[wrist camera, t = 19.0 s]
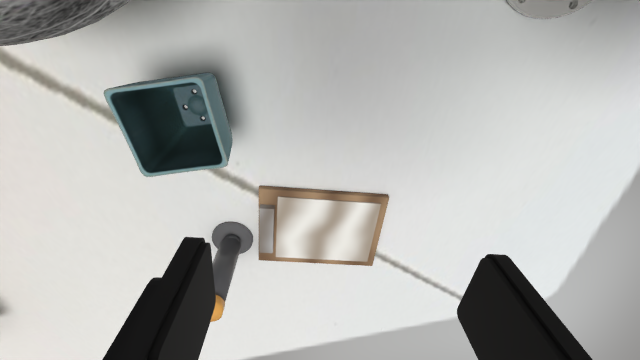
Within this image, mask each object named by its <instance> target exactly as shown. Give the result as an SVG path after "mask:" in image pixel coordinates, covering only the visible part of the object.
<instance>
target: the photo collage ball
mask: <svg viewBox="0 0 640 360" xmlns="http://www.w3.org/2000/svg"><path fill="white" fill-rule="evenodd" d="M128 1H129V0H0V46H6V45H17V44H23V43H29V42H33V41H38V40H43V39H48V38H53V37H57V36H61V35H65V34H67V33H70V32H72V31H75V30H77V29H80V28H82V27H85V26H87V25H90V24H92V23H95V22H97V21H99V20H101V19H102V18H104V17H105V16H107V15H109V14H110V13H112V12H114V11H115V10H117V9H118V8H120V7H122V6H123V5H125V4H126V3H127V2H128Z"/></svg>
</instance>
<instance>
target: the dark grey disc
mask: <svg viewBox="0 0 640 360" xmlns="http://www.w3.org/2000/svg"><path fill="white" fill-rule="evenodd" d="M230 234H234V235H236V236H238V237H239V239H240V244H241V249H240V252H239V254H241V253H244V252H246V251H247V250H249V249H250V247H251V245H252V242H253V236H252V233H251V232H250V230H249V229H248V228H247V227H245V226H244V225H242V224H240V223H236V222H225V223H222V224H220V225H218V226H217V227H216V228H215V229H214V231H213V234H212V241H213V243H214V245H215V246H216V247H217V248H219V245H220V243H221V241H222V240H223V239H225V237H226V236H227V235H230Z"/></svg>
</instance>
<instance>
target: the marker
mask: <svg viewBox="0 0 640 360" xmlns="http://www.w3.org/2000/svg"><path fill="white" fill-rule="evenodd" d="M240 249H241V244H240V239H239V237H238V236H236V235H234V234H230V235H227V236H226V237H225V239H223V240H222V241H221V243H220V245H219V248H218V251H217V253H216V256H215V258H214V261H213V263H212V265H213V275H214V285H215V295H216V303H215V308H214V311H213V315H212V318H211V321H210V322H212V321H216V320H219V319H220V318H221V316H222V313H223V310H224V307H225V300H226V297H227V293H228V290H229V286H230V283H231V280H232V276H233V273H234V269H235V266H236V262H237V259H238V256H239V252H240Z"/></svg>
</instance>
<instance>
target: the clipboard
mask: <svg viewBox="0 0 640 360" xmlns="http://www.w3.org/2000/svg"><path fill="white" fill-rule="evenodd" d="M388 200H389V196H388V195H386V194H371V193H357V192H343V191H328V190H314V189H300V188H285V187H271V186H259V260H268V261H288V262H307V263H326V264H346V265H365V266H372V264H373V260H374V256H375V252H376V248H377V244H378V240H379V236H380V232H381V228H382V224H383V220H384V216H385V212H386V208H387V204H388Z"/></svg>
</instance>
